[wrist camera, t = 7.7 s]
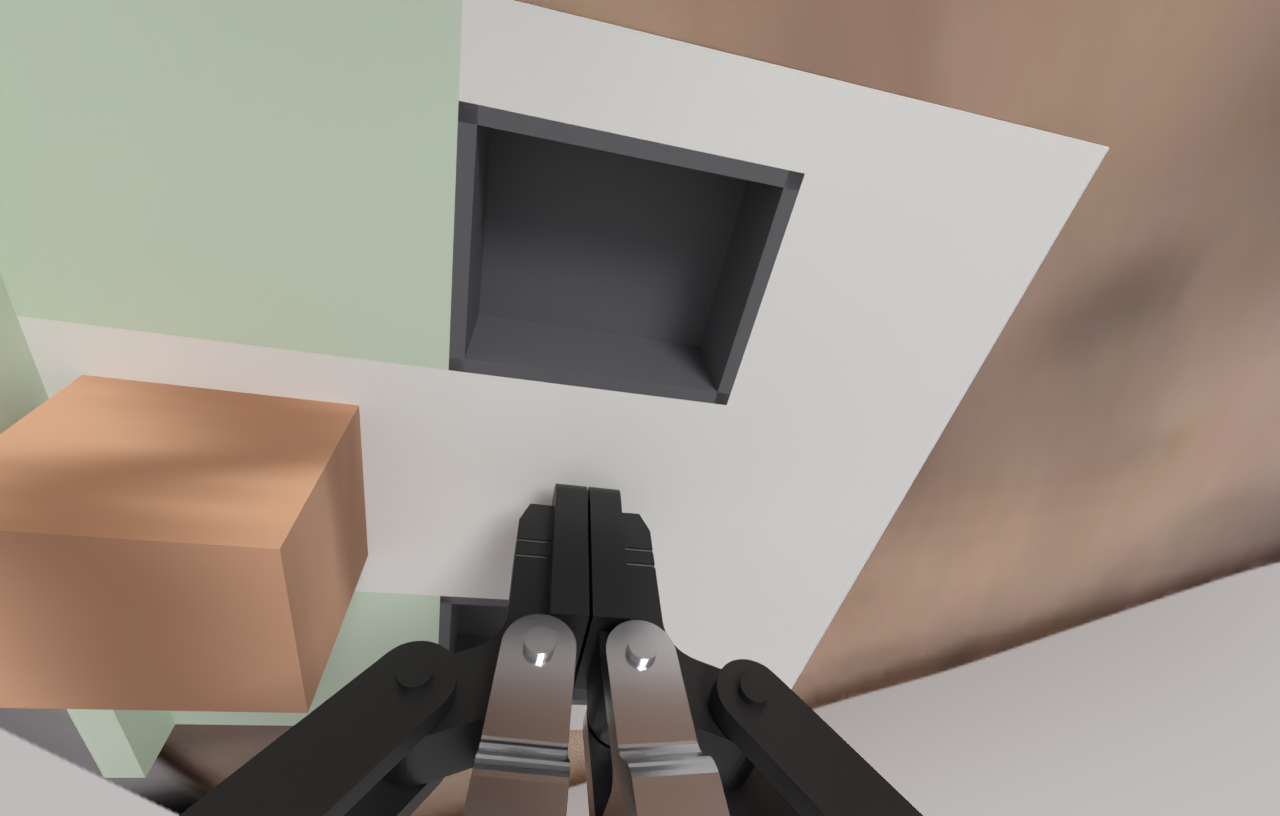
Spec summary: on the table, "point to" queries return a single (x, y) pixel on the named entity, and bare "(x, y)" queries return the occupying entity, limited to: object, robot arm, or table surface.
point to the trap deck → (518, 287)
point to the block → (176, 548)
